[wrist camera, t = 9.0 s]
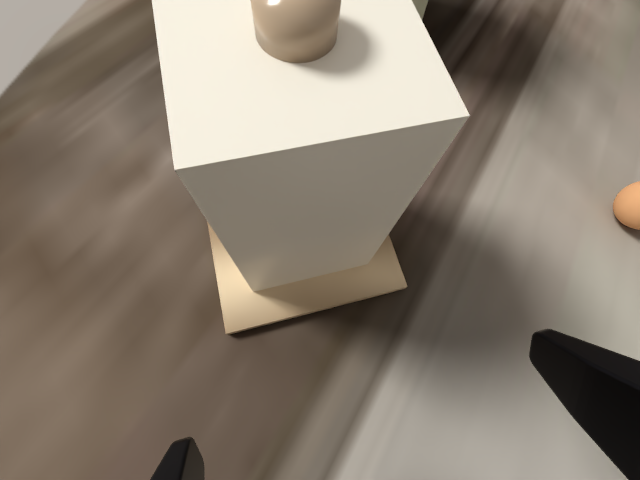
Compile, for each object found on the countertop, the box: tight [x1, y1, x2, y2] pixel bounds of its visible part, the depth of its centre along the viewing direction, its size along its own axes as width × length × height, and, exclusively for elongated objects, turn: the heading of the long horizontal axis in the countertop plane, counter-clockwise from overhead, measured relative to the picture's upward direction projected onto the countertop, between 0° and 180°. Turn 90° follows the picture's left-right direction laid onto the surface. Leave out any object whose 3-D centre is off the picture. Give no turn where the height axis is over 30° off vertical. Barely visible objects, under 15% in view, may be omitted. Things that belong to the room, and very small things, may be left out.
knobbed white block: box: [152, 0, 470, 292], centre depth 13 cm, size 6×6×13 cm
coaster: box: [207, 221, 408, 335], centre depth 20 cm, size 10×10×1 cm
